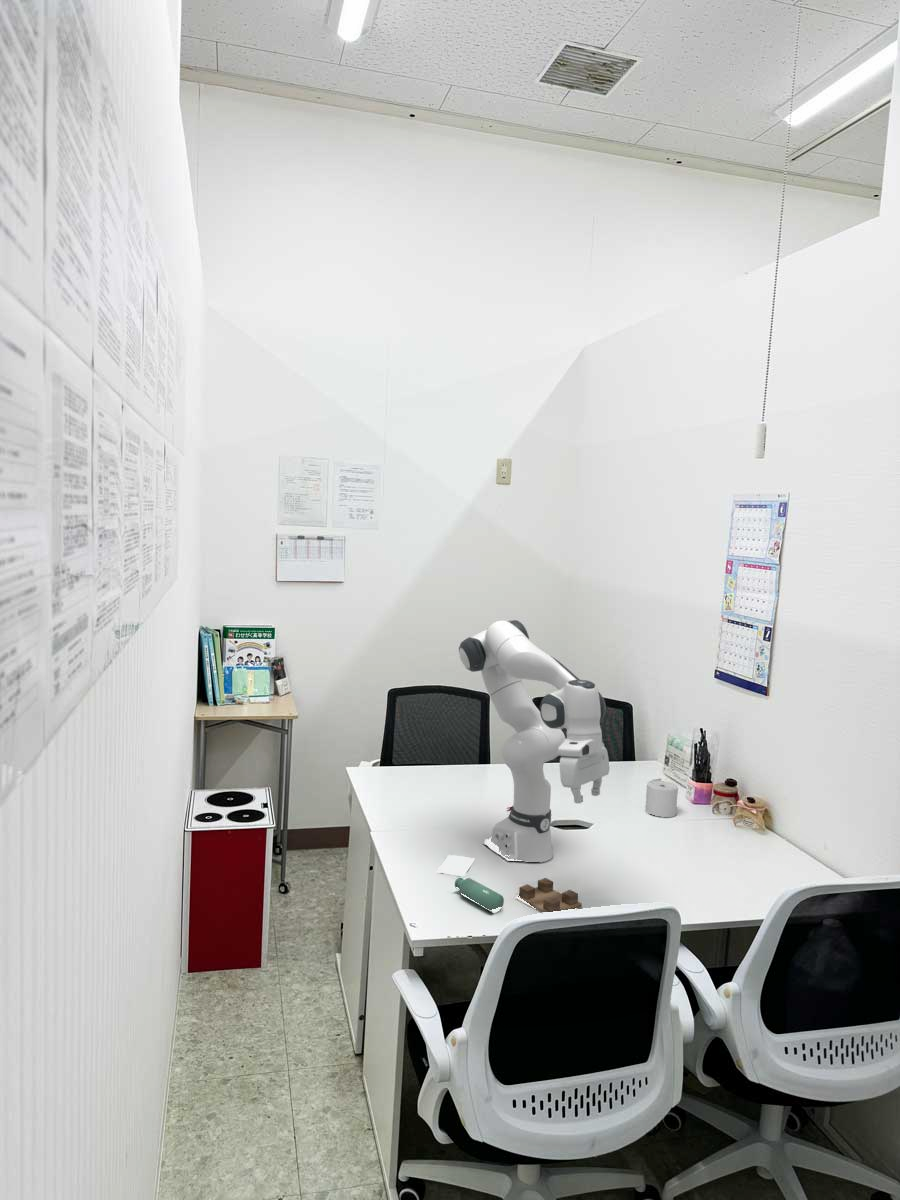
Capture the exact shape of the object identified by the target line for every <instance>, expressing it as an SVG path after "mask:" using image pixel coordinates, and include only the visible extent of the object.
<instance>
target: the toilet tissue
mask: <svg viewBox="0 0 900 1200" xmlns="http://www.w3.org/2000/svg"><path fill="white" fill-rule="evenodd" d="M678 786H679V785H677V784H675V783H673V782H670V781H665V780H662V778H657V779H652V780H650V781H648V782H647V783H646V793H645V794H646V795H645V812H646V813H647V812H648V813H649V814H648V813H647V814H648V815H650V814H652V815H655V816H654V817H656V816H661V817H660V818H664V817H668V818H674V817H676V816H675V815H677V810H678V809H677V808H678V807H677V806H678V792H679V787H678ZM652 815H651V816H652ZM673 816H674V817H673Z"/></svg>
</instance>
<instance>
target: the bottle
mask: <svg viewBox="0 0 900 1200" xmlns="http://www.w3.org/2000/svg"><path fill="white" fill-rule="evenodd" d="M454 887H455V888H456V887H458V888H459V889H458V890H459V894H460V893H462V894H464V895H466V896H467V897H469V898H470V899H472V900H474V901H475V902H477V903H479V904H480V905H482V906H484V907H485V908H487V909H489V910H492V909H496V908H498V907H502V906H503V907H504V903H505V900H504V896H503V895H502V894H500V893H498V892H496V891H494V890H492V889H491V888H489V887H487V886H485V885H484V884H482V883H480V882H478V881H476V880H474V879H472V878H470V877H468V878H465V879H464V877H457V878H456V880H455V882H454ZM503 907H502V908H503Z"/></svg>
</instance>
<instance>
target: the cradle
mask: <svg viewBox="0 0 900 1200" xmlns="http://www.w3.org/2000/svg"><path fill="white" fill-rule="evenodd" d="M518 891H519V892H518V894H519V896H520V898H521V899H523V900H524V901H526V902H527V903H529V904H530V905H531V906H533V907H534V908H536V910H535V911H537V910H538V913H539V912H540V913H541V912H553V911H561V910H568V909H575V908H579V909H581V908H582V907H583V904H582V903H581V902H579V893H577V891H576V892H575V891H573V890H572V889H567V890H565V891H562V892H559V891H557V890H556V889H554V881H553V880H551V879H549V878H546V877H544V878H541V879H538V880H537V886H536V887H534V886H532V885H529V884H524V885H521V886H519V888H518ZM519 896H518V897H519Z"/></svg>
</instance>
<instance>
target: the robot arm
mask: <svg viewBox="0 0 900 1200" xmlns="http://www.w3.org/2000/svg"><path fill="white" fill-rule="evenodd" d="M458 646H459V647H458V654H459V658H460V661H461V662H462V665H463V666H464V667H465V669H466V670H468V671H470V672H471V673H472V672H473V673H474V672H481V677H482V681H483V683H484V686H485V688H486V691H487V693H488V695H489V698H490V700H491V702H492V704H493V706H494V708H495V710H496V712H497V714H498V716H499V719H500V720H501V721H502V722H503V723H505V724H507V725H509V727H511V728H513V730H514V731H515V732H516V733H514V734H513V735H511V736H510V737H508V738H507V739H506V740H505V741H504V742H503V744H502V746H501V749H500V752H501V753H500V754H501V758H502V761H503V762H504V764H505V765H506V766H507V767H508V768H509V770H510V772H511V775H512V779H513V805H512V806H510V807H507V808H506V809H507V810H506V812H509V814H508V816H507V817H506V818H505V819H502V820H501V821H499V822H497V823H496V824H495V825H494V826H493V828H492V831H491V836H492V838H491V842H493V843H494V844H495V845H497V846H498V847H499V852H500V851H501V854H502V855H503V856H505V855H508V856H509V855H510V856H509V857H508V856H505V857H506V858H508V859H514V860H516V859H517V860H522V861H527V862H540V863H545V862H548V861H550V860H551V859H553V856H554V853H553V852H554V851H553V844H552V838H551V837H552V836H551V822H552V810H551V793H552V792H551V791H552V786H551V783H550V782H549V781H548V780H547V779H546V777H545V773H544V764H545V763H547V762H549V761H553V760H555V759H556V758H557V757H559V756H561V757H560V759H559V775H560V783H561V785H562V787H563V788H569V789H570V792H571V794H572V795H573V801H574V803H575V804H582V803H583V802H584V795H582V793H581V790H582V786H583V785H585V784H588V783H591V782H592V788H590V791H591V796H593V797H598V796H599V795H601V786H602V782H603V777H605V776H608V775H609V772H610V760H609V754H608V749H607V748H606V747H605V744H604V742H603V735H602V734H603V732H602V728H601V725H600V723H601V722H602V720H603V719H604V717H605V714H606V711H607V705H606V702H605V698H604V697H603V695H602V694H601V692H600V691H599V690H598V688H597V685H596V684H595V682H592V681H590V680H586V679H580V678H578V676H576V675H575V674H574V673H573V671H570V669H569V668H568V667H567V666H565V665H564V664H562V662H560V660H558V659H556V658H555V657H553V656H552V655H549V654H548V653H546V652H545V651H544V650H543V649H540V648H539V647H538V646H537V645H535V644H534V643H533V642H532V641H531V640H530V637H529V634H528V630H527V629H526V627H525V626H524V624H523V623H522V622H521V621H519V620H516V619H515V620H504V619H503V620H498V621H494V622H493V623H491V625H489V627H488V628H486V629H485V630H483V631H480V632H478V633H476V634H473V635H472V636H470V637H467V638H465V639H464V640H463V641H461V642H460V645H458ZM523 680H529V681H530V680H531V681H536V682H537V681H538V682H543V683H547V684H550V685H552V686H553V687H555V688H556V689H557V690H556V691H554V692H550V693H548V694H546V695H544V697H543V698H542V700H541V702H540V707H539V708H540V709H539V708H538V707H537V706H536V705H535V703H534V702H533V700H532V698H531V696H530V694H529V692H528V690H527V688H526V686H525V684H524V682H523ZM563 729H566V736H565V734H564V731H563Z"/></svg>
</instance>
